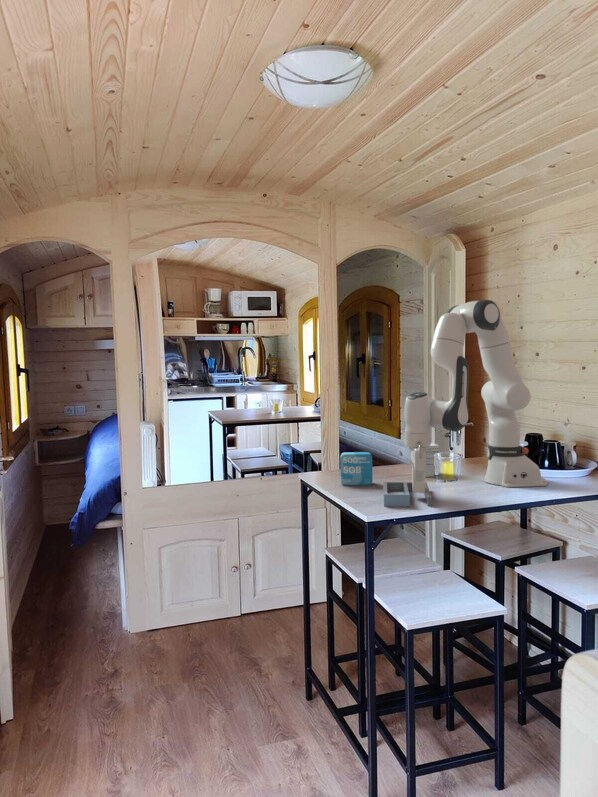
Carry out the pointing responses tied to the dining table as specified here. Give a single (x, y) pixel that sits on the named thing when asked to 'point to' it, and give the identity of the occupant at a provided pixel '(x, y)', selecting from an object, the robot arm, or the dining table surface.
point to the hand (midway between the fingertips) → (418, 479)
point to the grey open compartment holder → (402, 498)
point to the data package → (356, 468)
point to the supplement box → (430, 459)
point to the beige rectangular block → (417, 486)
